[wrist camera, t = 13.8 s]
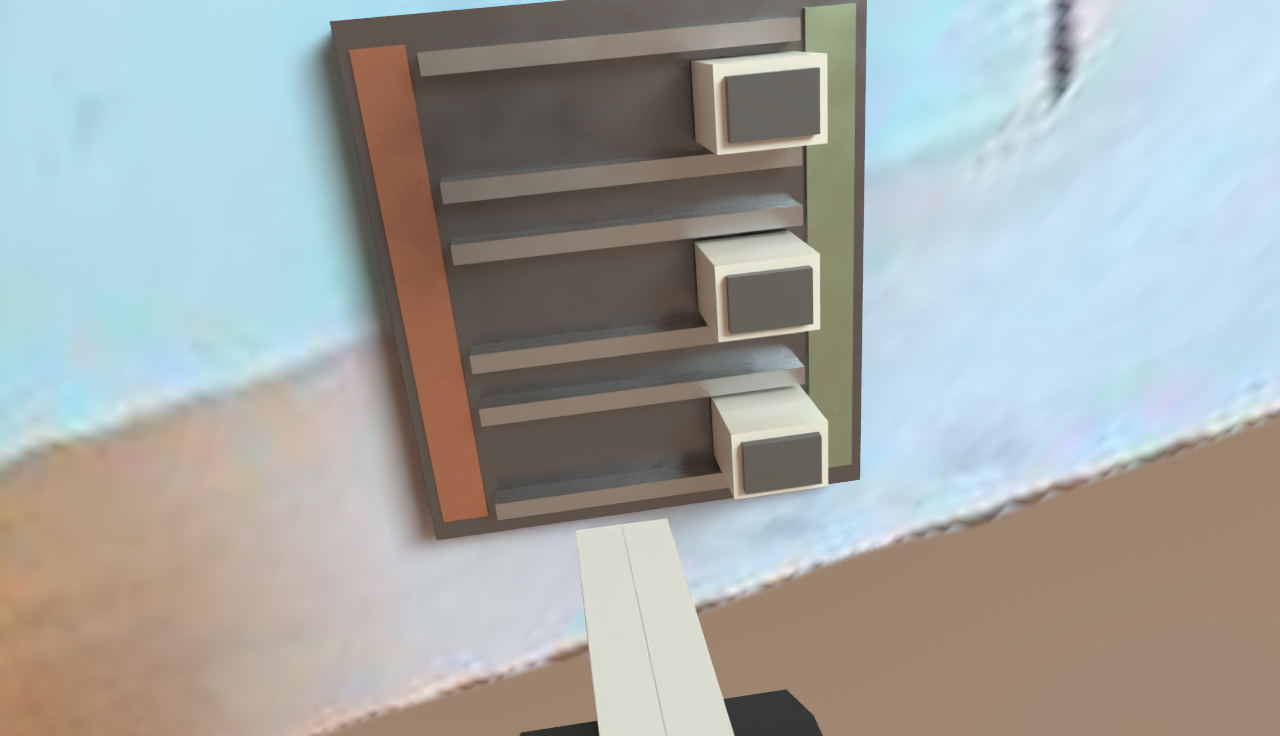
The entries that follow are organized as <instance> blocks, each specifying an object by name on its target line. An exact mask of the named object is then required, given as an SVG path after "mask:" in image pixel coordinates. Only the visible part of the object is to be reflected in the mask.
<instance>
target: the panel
mask: <svg viewBox="0 0 1280 736" xmlns="http://www.w3.org/2000/svg"><path fill="white" fill-rule="evenodd" d="M866 20H867V0H565V1H554V2H543V3H531V4H520V5H509V6H498V7H486V8H475V9H464V10H453V11H442V12H430V13H419V14H408V15H397V16H386V17H374V18H363V19H352V20H341V21H330V25H331V30H332V35H333V40H334V44H335V49H336V54H337V59H338V64H339V69H340V74H341V78H342V83H343V88H344V93H345V98H346V103H347V107H348V112H349V117H350V122H351V127H352V132H353V137H354V141H355V146H356V151H357V156H358V161H359V166H360V170H361V175H362V180H363V185H364V190H365V195H366V200H367V204H368V209H369V214H370V219H371V224H372V229H373V233H374V238H375V243H376V248H377V253H378V258H379V263H380V267H381V272H382V277H383V282H384V287H385V292H386V297H387V301H388V306H389V311H390V316H391V321H392V326H393V330H394V335H395V340H396V345H397V350H398V355H399V360H400V364H401V369H402V374H403V379H404V384H405V389H406V393H407V398H408V403H409V408H410V413H411V418H412V423H413V427H414V432H415V437H416V442H417V447H418V452H419V457H420V461H421V466H422V471H423V476H424V481H425V486H426V490H427V495H428V500H429V505H430V510H431V515H432V520H433V524H434V529H435V534H436V539H437V540H441V539H448V538H455V537H462V536H469V535H476V534H483V533H490V532H497V531H504V530H511V529H518V528H525V527H532V526H539V525H546V524H553V523H560V522H567V521H574V520H581V519H588V518H595V517H602V516H609V515H616V514H623V513H630V512H637V511H644V510H651V509H658V508H665V507H672V506H679V505H686V504H693V503H700V502H707V501H714V500H721V499H728V498H734V497H733V495H732V493H731V491H730V489H729V487H728V484H727V482H726V480H725V478H724V476H723V473H722V471H721V469H720V467H719V465H718V462H717V460H716V458H715V456H714V443H713V426H712V409H711V396H718V395H726V394H733V393H741V392H748V391H756V390H764V389H771V388H779V387H786V386H794V385H800V386H801V388H802V389H803V390H804V391H805V393H806V394H807V395H808V397H809V398H810V399H811V400H812V402H813V403H814V404H815V405H816V407H817V408H818V409H819V411H820V412H821V413H822V414H823V416H824V417H825V418H826V419H827V421H828V484H833V483H840V482H847V481H854V480H860V442H861V371H862V301H863V231H864V160H865V90H866ZM789 51H799V52H812V53H826V54H827V106H828V143H825V144H816V145H806V146H797V147H787V148H778V149H769V150H759V151H750V152H741V153H731V154H722V155H716V154H715V153H713V152H712V151H710V150H709V149H707V148H705V147H704V146H702V145H701V144H699V143H697V142H696V137H695V120H694V103H693V86H692V69H691V61H695V60H706V59H716V58H727V57H737V56H747V55H758V54H768V53H778V52H789ZM780 231H790V232H791V233H793V234H794V235H795V236H797V237H798V238H799V239H801V240H802V241H803V242H805V243H806V244H807V245H809V246H810V247H811V248H813V249H814V250H816V251H817V252H818V253H820V329H819V330H811V331H803V332H795V333H787V334H779V335H772V336H764V337H756V338H748V339H740V340H732V341H724V342H718V340H717V339H716V337H715V336H714V334H713V332H712V331H711V329H710V328H709V326H708V325H707V323H706V321H705V320H704V318H703V317H702V315H701V314H700V312H699V309H698V293H697V277H696V261H695V245H694V241H703V240H711V239H720V238H729V237H737V236H746V235H754V234H763V233H772V232H780Z"/></svg>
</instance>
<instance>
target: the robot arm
mask: <svg viewBox="0 0 1280 736" xmlns="http://www.w3.org/2000/svg"><path fill="white" fill-rule="evenodd" d="M575 531H576V540H577V549H578V558H579V567H580V576H581V585H582V594H583V603H584V612H585V621H586V630H587V639H588V648H589V657H590V666H591V674H592V683H593V691H594V700H595V709H596V717H597V721H594V722H587V723H580V724H574V725H567V726H561V727H554V728H548V729H542V730H535V731H529V732H522V733H521V734H520V736H822V733H821V731H820V729H819V727H818V724H817V722H816V720H815V718H814V716H813V715H812V714H811V713H810V712H809V711H808V710H807V709H806V708H805V707H804V706H803V705H802V704H801V703H800V702H799V701H798V700H797V699H796V698H795V697H794V696H793V695H792V694H790V693H789V692H788V691H787V690H780V691H773V692H767V693H760V694H754V695H748V696H740V697H734V698H727V699H723V697H722V694H721V691H720V687H719V684H718V681H717V678H716V675H715V671H714V668H713V665H712V662H711V658H710V656H709V652H708V649H707V646H706V642H705V639H704V636H703V632H702V630H701V626H700V623H699V619H698V616H697V613H696V610H695V606H694V603H693V600H692V597H691V594H690V590H689V587H688V584H687V581H686V577H685V574H684V571H683V568H682V564H681V561H680V558H679V555H678V551H677V548H676V545H675V542H674V539H673V535H672V532H671V529H670V526H669V522H668V519H667V518H666V519H658V520H650V521H643V522H635V523H627V524H620V525H612V526H604V527H597V528H589V529H582V530H575Z"/></svg>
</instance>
